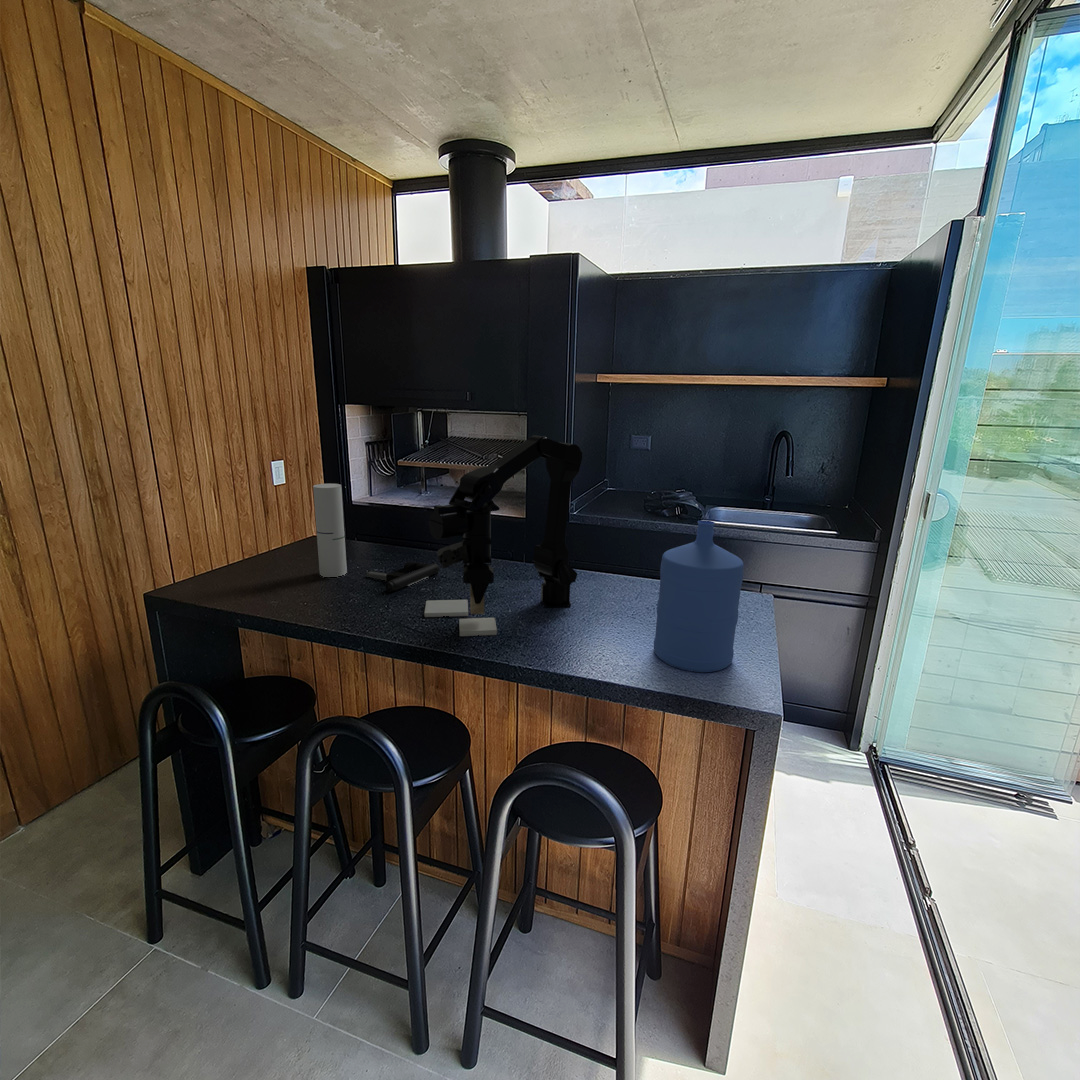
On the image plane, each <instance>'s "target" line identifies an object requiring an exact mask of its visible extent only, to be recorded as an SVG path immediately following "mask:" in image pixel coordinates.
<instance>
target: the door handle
mask: <svg viewBox="0 0 1080 1080" xmlns="http://www.w3.org/2000/svg"><path fill="white" fill-rule="evenodd" d="M414 570H415V571H414ZM412 571H413V572H412ZM439 571H440V566H439V564H437V563H431V564H429V563H422V562H414V561H408V562H406V563H405V564H404V565H403V567H401V568H399V569H396V570H394V571H391V572H389V573H384V572H378V571H369V572H368V571H367V572H366V577H367V576H369V577H373V578H377V579H381V580H385V581H384V582H385V585H384V588H385V589H386V591H387V592H389V593H391V592H396V591H398V590H400V589H404V588H405V586H406V587H407V586H410V585H412V584H414V583H416V584H418V583H417V582H419V581H421V580H423V579H426V578H428V579H429V577H432V576H434V575H437V574H439ZM409 572H411V573H409ZM407 573H408V574H407ZM433 574H434V575H433ZM431 575H432V576H431ZM377 579H376V580H377ZM381 580H380V581H381ZM426 580H427V579H426ZM386 581H387V582H386ZM423 581H424V580H423ZM421 582H422V581H421ZM419 583H420V582H419ZM414 585H415V584H414ZM412 586H413V585H412ZM410 587H411V586H410Z"/></svg>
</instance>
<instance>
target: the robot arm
mask: <svg viewBox="0 0 1080 1080" xmlns="http://www.w3.org/2000/svg"><path fill="white" fill-rule="evenodd" d="M539 458H542V459H545V467H546V471H547V474H548V476H549V479H550V483H549V484H550V485H549V493H548V503H547V508H546V509H547V510H546V520H545V527H544V537H543V540H542V541H541V542H540V544H539V545H538V544H535V545H534V548H533V551H534V552H533V557H532V562H533V565H534V568H535V569H536V570H537V574H538V576H539V577H540V578H543V582H542V583H541V584H540V600H541V602H542V603H543V604H544V607H545V608H557V607H558V608H560V607H562V608H563V607H571V606H572V603H571V601H570V599H571V598H570V597H571V585H572V584H573V583H575V582H576V579H577V578H578V572H577V571H576V570H575V569H574V568H573V567H572V566H571V565H570V552H569V549H568V546H567V544H566V541H565V540H566V531H567V521H568V513H569V506H570V497H571V489H572V482H573V481H574V480H575V478H576V477H577V475H578V474H579V472H580V469H581V464H582V461H583V451H582V450H581V448H580V447H579V445H578V444H575V443H569V442H568V443H567V442H559V441H555V440H552V439H550V438H548V437H546V436H540V435H531V436H528V438H527V439H525V441H524V442H523V443H520V444H519V445H518V446H517V447H514V448H513V449H512V450H511V451H509V452H507V453H506V454H505V455H503V456H502V457H500V458H499V459H497V460H496V461H495V462H493V463H491V464H490V465H487V466H483V467H479V468H476V469H473V470H471V471H469V472H467V473H465V474H463V476H461V477H460V479H459V485H458V487H456V490H455V492H454V493H453V495H452V496H451V498H450V500H449V502H448V504H447V505H440V504H437V505H434V506H433V511H432V512H431V514H430V516H429V519H428V523H427V524H428V529H429V533H430V535H431V537H433V538H434V540H437V541H439V540H444V539H450V538H455V537H462V541H460V542H457V543H452V544H450V545H447V546H444V547H442V548H440V549H438V550H437V553H436V554H437V555H436V556H437V558H438V560H439V561H438V562H439V564H440V565H441V569H447V568H449V567H450V566H452V565H455V564H457V563H460V562H462V564H463V570H462V573H463V574H462V576H463V577H462V581H463V584H469V585H470V584H471V587H472V591H473V596H474V601H475V604H480V603H481V601H482V598H483V596H484V597H485V594H486V592H487V589H488V587H489V585H490V584H493V583H494V581H495V573H494V568H493V567H492V566H491V563H492V555H491V547H492V536H491V535H492V533H491V531H492V530H491V529H492V528H491V527H492V520H491V519H492V517H491V516H492V512H497V511H499V510H500V507H499V506H498V505H497V504H496V503H495V502H494V498H495V497H496V496H497V495H498V494H500V493H501V491H502V489H503V487H504V484H506V482H507V481H508V480H510V479H511V478H513V477H514V476H515V475H517V474H518V473H520V472H521V471H523V470H524V469H525V468H526V467H528V466H529V465H531V464H532V463H533V462H534V461H537V459H539Z"/></svg>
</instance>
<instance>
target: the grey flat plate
mask: <svg viewBox="0 0 1080 1080" xmlns="http://www.w3.org/2000/svg"><path fill="white" fill-rule="evenodd" d="M443 616H445V617H446V616H449V617H469V602H468V599H439V600H438V599H437V600H434V599H433V600H431V599H430V600H426V601H425V607H424V618H438V617H439V618H442V617H443Z"/></svg>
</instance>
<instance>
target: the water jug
mask: <svg viewBox="0 0 1080 1080" xmlns="http://www.w3.org/2000/svg"><path fill="white" fill-rule="evenodd" d="M715 525H716V522H714V521H712V520H704V519H703V520H702V519H700V520H697V529H696V538H695V541H692V542H689V543H686V544H683V545H680V546H675V547H673V548H671V549H668V550H666V551H665V552H664V553H663V554H662V556H661V563H660V570H659V575H660V579H659V589H658V590H659V592H658V593H659V594H658V600H657V605H656V622H655V623H656V624H655V634H654V635H655V636H654V639H653V651H654V653H655V655H656V656H657V657H658V659H660V660H661V661H663V662H664V663H665V664H667V665H669V666H671V667H674V668H677V669H680V670H683V671H688V672H693V671H694V673H695V672H696V673H712V672H718V671H721V670H724V669H725V668H727V667H729V666H730V664H732V662H733V659H734V654H735V653H734V650H735V649H734V645H735V644H734V643H735V637H736V628H737V625H738V620H739V605H740V598H741V590H742V585H743V580H744V567H745V566H744V565H745V564H744V561H743V560H742V559H741V558H740V557H739V556H737V555H735V553H732V552H730V551H728V550H726V549H725V548H723V547H720V546H719V545H717V544H715V543H714V540H713V539H714V534H715V531H714V526H715Z"/></svg>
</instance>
